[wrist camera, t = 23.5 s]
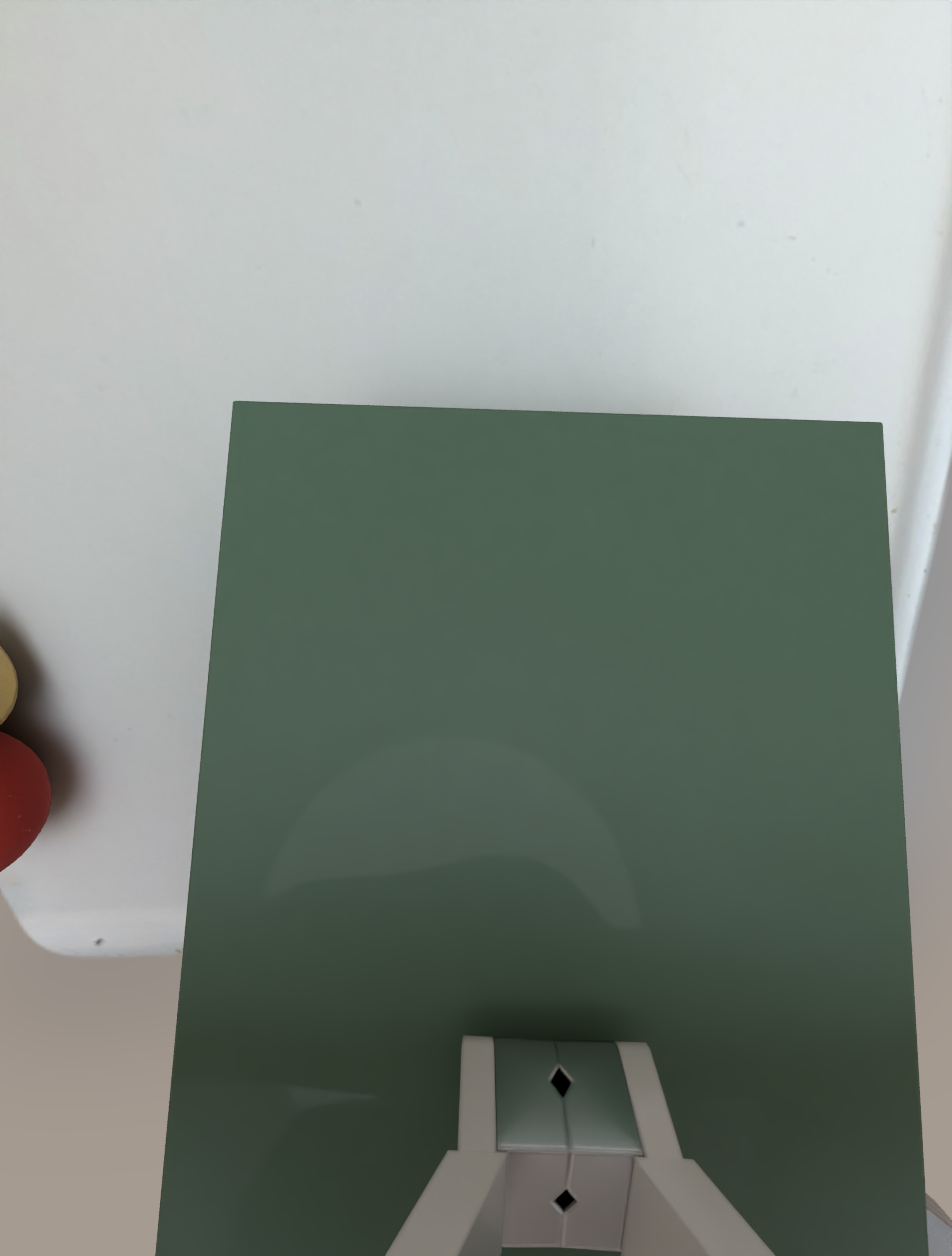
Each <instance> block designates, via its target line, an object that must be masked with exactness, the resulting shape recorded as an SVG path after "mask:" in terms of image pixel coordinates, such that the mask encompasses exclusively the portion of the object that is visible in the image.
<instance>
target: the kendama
mask: <svg viewBox="0 0 952 1256" xmlns="http://www.w3.org/2000/svg"><path fill="white" fill-rule="evenodd" d="M17 692H18V680H17V674H16V671H15V668H14V666H13V664H12V661H11V660H10V658H9V657H8V655H7V654H6V652H5V651H4V650H3V648H2V647H1V646H0V725H1V724H2V723H3V722H4V721H5V720H6V718H7V717H8V715H9V714H10V712H11V711H12V710H13V707H14V705H15V702H16V698H17ZM50 805H51V786H50V780H49V777H48V774H47V771H46V769H45V767H44V765H43V763H42V762H41V760H40V759H39V758H38V756H37V755H36V754H35V753H34V752H33V751H32V750H31V749H30V748H29V747H28V746H26V745H25V744H24V743H22V742H21V741H19V740H17V739H16V738H14V737H12V736H9V735H7V734H5V733H2V732H0V872H1V871H2V870H4V869H5V868H7V867H8V866H9V865H10V864H12V863H13V862H14V861H15V860H16V859H18V858H19V857H20V856H21V855H22V854H23V853H24V852H25V851H26V850H27V849H28V848H29V846H30V845H31V844H32V843H33V841H34V840H35V839H36V837H37V836H38V834H39V833H40V831H41V829H42V828H43V826H44V824H45V822H46V819H47V817H48V814H49V810H50Z"/></svg>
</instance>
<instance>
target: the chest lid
mask: <svg viewBox="0 0 952 1256" xmlns="http://www.w3.org/2000/svg"><path fill="white" fill-rule="evenodd" d="M902 783H903V782H902V764H901V747H900V729H899V711H898V693H897V675H896V657H895V639H894V621H893V603H892V585H891V567H890V550H889V532H888V514H887V496H886V478H885V460H884V442H883V425H882V423H880V422H851V421H821V420H791V419H761V418H731V417H701V416H671V415H641V414H611V413H581V412H552V411H522V410H492V409H462V408H432V407H402V406H372V405H342V404H312V403H282V402H252V401H234V402H233V410H232V421H231V432H230V443H229V454H228V465H227V476H226V487H225V498H224V509H223V520H222V531H221V542H220V553H219V564H218V575H217V586H216V597H215V608H214V619H213V630H212V640H211V651H210V662H209V673H208V684H207V695H206V706H205V717H204V728H203V739H202V750H201V761H200V772H199V783H198V794H197V805H196V816H195V827H194V838H193V849H192V860H191V871H190V882H189V893H188V904H187V915H186V926H185V936H184V947H183V958H182V969H181V970H182V971H181V981H180V991H179V1002H178V1014H177V1025H176V1036H175V1046H174V1057H173V1068H172V1079H171V1091H170V1101H169V1113H168V1123H167V1134H166V1145H165V1156H164V1167H163V1178H162V1189H161V1200H160V1211H159V1222H158V1233H157V1243H156V1254H155V1256H385V1255H386V1253H387V1251H388V1250H389V1248H390V1246H391V1245H392V1243H393V1241H394V1240H395V1238H396V1236H397V1235H398V1233H399V1231H400V1230H401V1228H402V1226H403V1225H404V1223H405V1221H406V1220H407V1218H408V1216H409V1215H410V1213H411V1211H412V1210H413V1208H414V1206H415V1205H416V1203H417V1201H418V1199H419V1198H420V1196H421V1194H422V1193H423V1191H424V1189H425V1188H426V1186H427V1184H428V1183H429V1181H430V1179H431V1178H432V1176H433V1174H434V1173H435V1171H436V1169H437V1168H438V1166H439V1164H440V1163H441V1161H442V1159H443V1158H444V1156H445V1154H446V1153H447V1151H448V1150H458V1128H459V1101H460V1074H461V1047H462V1039H463V1035H468V1036H488V1037H493V1039H494V1037H506V1038H521V1039H535V1040H550V1041H553V1039H561V1040H612V1041H613V1042H615V1041H618V1042H645V1043H646V1044H647V1045H648V1047H649V1048H650V1050H651V1053H652V1056H653V1060H654V1063H655V1066H656V1070H657V1073H658V1076H659V1080H660V1083H661V1086H662V1089H663V1093H664V1096H665V1099H666V1103H667V1106H668V1109H669V1113H670V1116H671V1119H672V1122H673V1126H674V1129H675V1132H676V1136H677V1139H678V1142H679V1146H680V1149H681V1152H682V1155H683V1158H684V1159H694V1160H695V1162H696V1163H697V1164H698V1165H699V1166H700V1167H701V1169H702V1170H703V1171H704V1172H705V1173H706V1175H707V1176H708V1177H709V1178H710V1179H711V1180H712V1182H713V1183H714V1184H715V1185H716V1186H717V1187H718V1189H719V1190H720V1191H721V1192H722V1193H723V1195H724V1196H725V1197H726V1198H727V1199H728V1200H729V1202H730V1203H731V1204H732V1205H733V1206H734V1208H735V1209H736V1210H737V1211H738V1212H739V1213H740V1215H741V1216H742V1217H743V1218H744V1219H745V1220H746V1222H747V1223H748V1224H749V1225H750V1226H751V1228H752V1229H753V1230H754V1231H755V1232H756V1233H757V1235H758V1236H759V1237H760V1238H761V1239H762V1240H763V1242H764V1243H765V1244H766V1245H767V1246H768V1248H769V1249H770V1250H771V1251H772V1252H773V1253H774V1255H775V1256H929V1248H928V1230H927V1212H926V1194H925V1177H924V1159H923V1141H922V1124H921V1105H920V1089H919V1088H920V1087H919V1071H918V1070H919V1069H918V1052H917V1033H916V1015H915V997H914V981H913V980H914V979H913V962H912V945H911V926H910V909H909V890H908V872H907V855H906V837H905V818H904V801H903V784H902ZM501 1256H621V1252H616V1251H602V1250H589V1249H575V1248H562V1247H502V1253H501Z"/></svg>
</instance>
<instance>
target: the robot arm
mask: <svg viewBox="0 0 952 1256" xmlns="http://www.w3.org/2000/svg"><path fill="white" fill-rule="evenodd" d="M502 1247H562V1248H575V1249H589V1250H602V1251H616V1252H621V1256H775V1255H774V1253H773V1252H772V1251H771V1250H770V1249H769V1248H768V1246H767V1245H766V1244H765V1243H764V1242H763V1240H762V1239H761V1238H760V1237H759V1236H758V1235H757V1233H756V1232H755V1231H754V1230H753V1229H752V1228H751V1226H750V1225H749V1224H748V1223H747V1222H746V1220H745V1219H744V1218H743V1217H742V1216H741V1215H740V1213H739V1212H738V1211H737V1210H736V1209H735V1208H734V1206H733V1205H732V1204H731V1203H730V1202H729V1200H728V1199H727V1198H726V1197H725V1196H724V1195H723V1193H722V1192H721V1191H720V1190H719V1189H718V1187H717V1186H716V1185H715V1184H714V1183H713V1182H712V1180H711V1179H710V1178H709V1177H708V1176H707V1175H706V1173H705V1172H704V1171H703V1170H702V1169H701V1167H700V1166H699V1165H698V1164H697V1163H696V1162H695V1160H694V1159H684V1158H683V1155H682V1152H681V1149H680V1146H679V1142H678V1139H677V1136H676V1132H675V1129H674V1126H673V1122H672V1119H671V1116H670V1113H669V1109H668V1106H667V1103H666V1099H665V1096H664V1093H663V1089H662V1086H661V1083H660V1080H659V1076H658V1073H657V1070H656V1066H655V1063H654V1060H653V1056H652V1053H651V1050H650V1048H649V1047H648V1045H647V1044H646V1043H645V1042H618V1041H615V1042H613V1041H612V1040H561V1039H553V1041H550V1040H535V1039H521V1038H506V1037H494V1039H493V1037H488V1036H468V1035H463V1039H462V1047H461V1074H460V1101H459V1128H458V1150H448V1151H447V1153H446V1154H445V1156H444V1158H443V1159H442V1161H441V1163H440V1164H439V1166H438V1168H437V1169H436V1171H435V1173H434V1174H433V1176H432V1178H431V1179H430V1181H429V1183H428V1184H427V1186H426V1188H425V1189H424V1191H423V1193H422V1194H421V1196H420V1198H419V1199H418V1201H417V1203H416V1205H415V1206H414V1208H413V1210H412V1211H411V1213H410V1215H409V1216H408V1218H407V1220H406V1221H405V1223H404V1225H403V1226H402V1228H401V1230H400V1231H399V1233H398V1235H397V1236H396V1238H395V1240H394V1241H393V1243H392V1245H391V1246H390V1248H389V1250H388V1251H387V1253H386V1255H385V1256H501V1253H502Z"/></svg>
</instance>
